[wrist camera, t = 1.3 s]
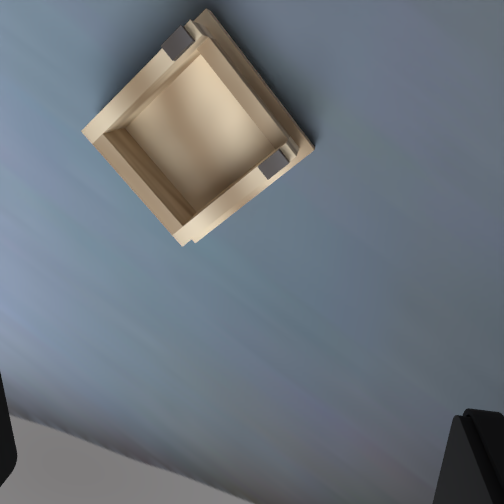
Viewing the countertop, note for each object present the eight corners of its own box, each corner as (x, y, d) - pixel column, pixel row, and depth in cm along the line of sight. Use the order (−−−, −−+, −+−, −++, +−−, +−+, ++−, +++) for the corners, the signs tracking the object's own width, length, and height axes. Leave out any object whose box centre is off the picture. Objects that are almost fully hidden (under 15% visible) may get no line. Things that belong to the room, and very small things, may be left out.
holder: (210, 10, 29) (187, -2, 24) (314, 147, 31) (312, 160, 26) (99, 122, 33) (61, 130, 28) (199, 237, 35) (179, 263, 30)
